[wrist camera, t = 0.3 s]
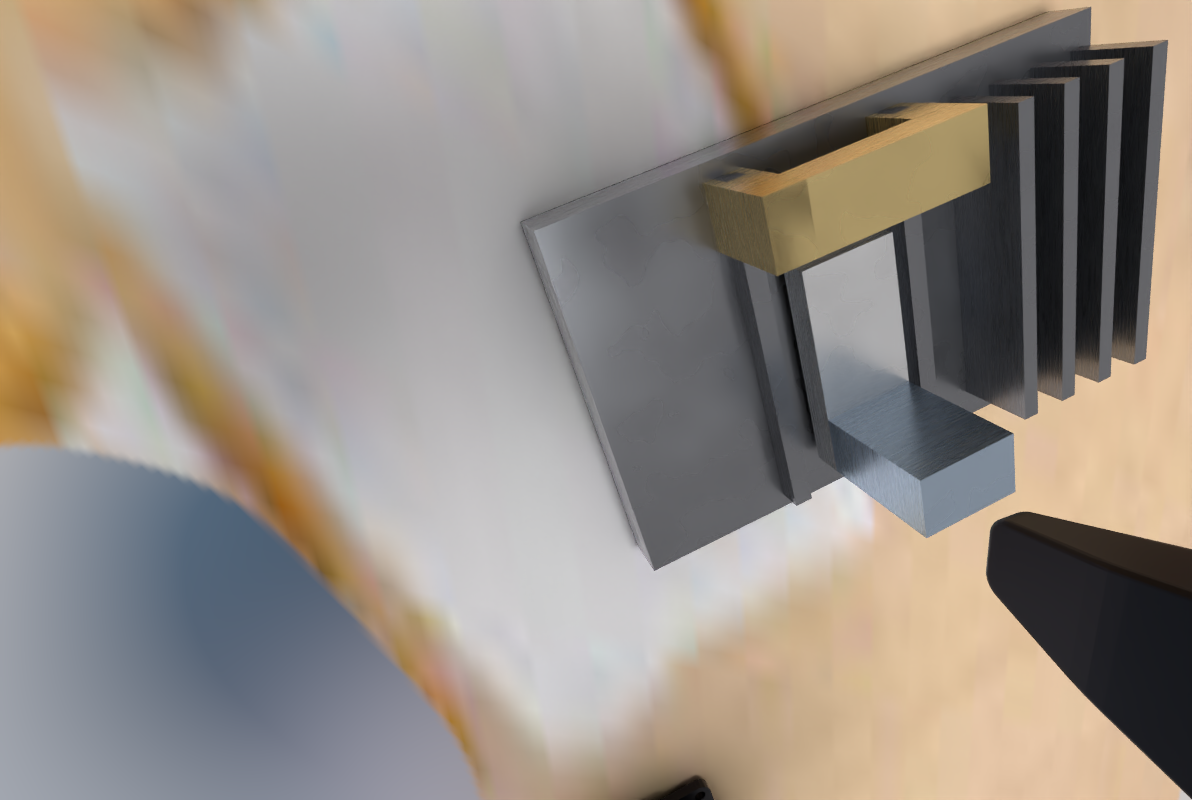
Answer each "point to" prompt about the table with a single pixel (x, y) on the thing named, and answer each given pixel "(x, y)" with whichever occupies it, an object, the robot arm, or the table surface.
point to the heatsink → (839, 218)
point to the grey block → (887, 396)
